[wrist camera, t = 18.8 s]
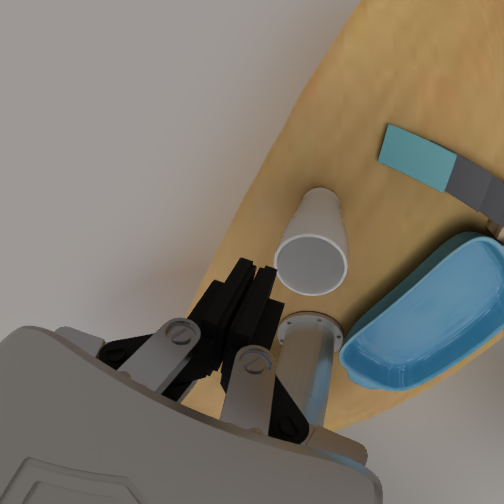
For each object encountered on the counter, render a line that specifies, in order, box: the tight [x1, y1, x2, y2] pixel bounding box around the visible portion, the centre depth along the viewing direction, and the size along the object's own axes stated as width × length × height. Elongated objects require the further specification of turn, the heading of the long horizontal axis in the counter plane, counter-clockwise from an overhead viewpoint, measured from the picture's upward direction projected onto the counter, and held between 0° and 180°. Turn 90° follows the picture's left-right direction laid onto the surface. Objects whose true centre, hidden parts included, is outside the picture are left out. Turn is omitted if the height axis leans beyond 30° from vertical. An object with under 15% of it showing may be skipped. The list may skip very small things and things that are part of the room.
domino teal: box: [378, 124, 457, 193], centre depth 26 cm, size 2×5×9 cm
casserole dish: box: [339, 232, 504, 391], centre depth 36 cm, size 37×22×7 cm, turn 150°
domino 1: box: [430, 141, 493, 212], centre depth 24 cm, size 2×5×9 cm
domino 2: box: [479, 176, 504, 224], centre depth 24 cm, size 2×5×9 cm
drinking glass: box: [274, 187, 348, 296], centre depth 29 cm, size 7×7×15 cm
